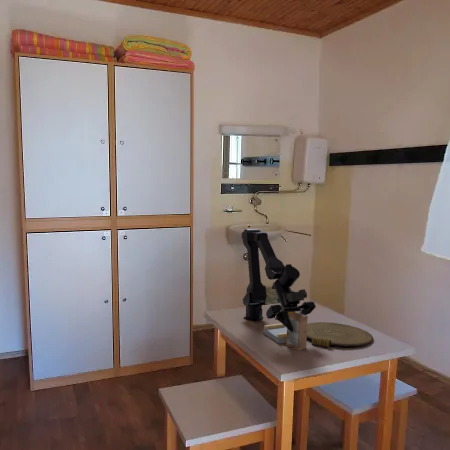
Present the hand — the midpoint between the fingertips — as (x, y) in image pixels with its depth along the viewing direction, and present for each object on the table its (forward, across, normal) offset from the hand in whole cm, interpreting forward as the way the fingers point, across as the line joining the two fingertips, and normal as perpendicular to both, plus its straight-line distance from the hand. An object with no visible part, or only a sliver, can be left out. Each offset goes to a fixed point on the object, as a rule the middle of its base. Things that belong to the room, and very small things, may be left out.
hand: (299, 330), depth 157 cm
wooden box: (+4, 0, +6) cm, 7 cm away
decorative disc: (0, +21, +10) cm, 23 cm away
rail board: (-4, 0, +13) cm, 14 cm away
